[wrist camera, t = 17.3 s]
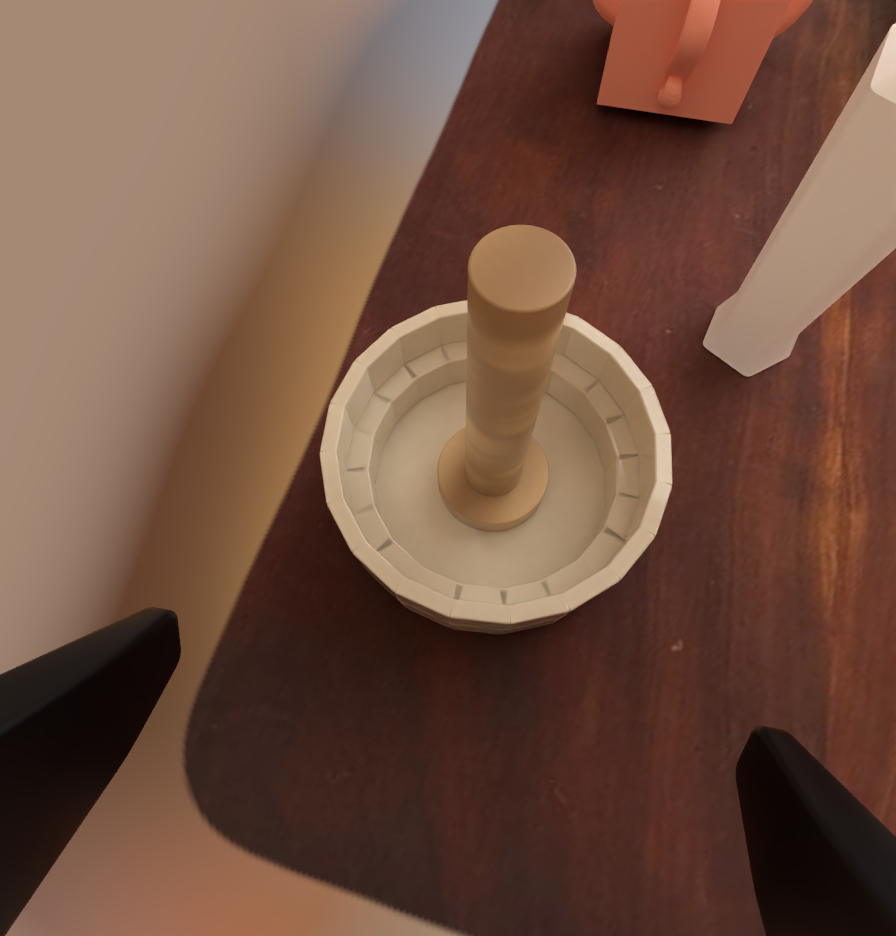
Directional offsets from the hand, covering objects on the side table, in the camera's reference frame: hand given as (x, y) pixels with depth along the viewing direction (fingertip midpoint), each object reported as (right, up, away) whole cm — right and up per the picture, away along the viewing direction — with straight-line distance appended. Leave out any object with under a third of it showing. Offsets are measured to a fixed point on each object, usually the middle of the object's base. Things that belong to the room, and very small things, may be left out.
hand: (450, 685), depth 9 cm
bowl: (+2, +3, +15) cm, 16 cm away
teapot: (+12, +26, +24) cm, 37 cm away
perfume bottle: (+14, +9, +18) cm, 24 cm away
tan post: (+2, +3, +15) cm, 15 cm away
